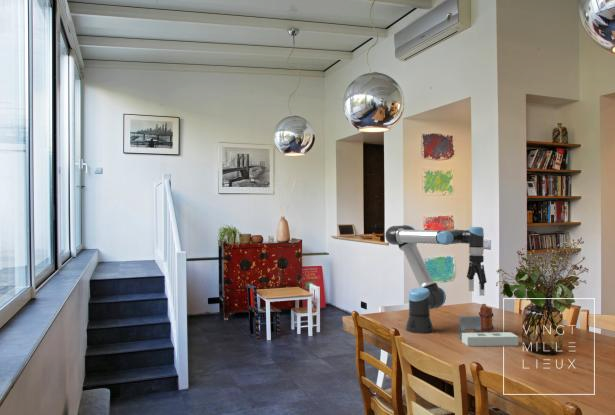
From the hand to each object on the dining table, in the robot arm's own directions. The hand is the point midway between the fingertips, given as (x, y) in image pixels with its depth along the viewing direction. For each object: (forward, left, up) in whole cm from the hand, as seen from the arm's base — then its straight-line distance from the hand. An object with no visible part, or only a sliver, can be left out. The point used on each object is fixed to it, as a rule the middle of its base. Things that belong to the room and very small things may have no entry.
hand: (476, 293), depth 275 cm
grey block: (-7, -9, -23) cm, 25 cm away
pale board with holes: (0, -18, -23) cm, 29 cm away
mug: (+7, +6, -23) cm, 25 cm away
